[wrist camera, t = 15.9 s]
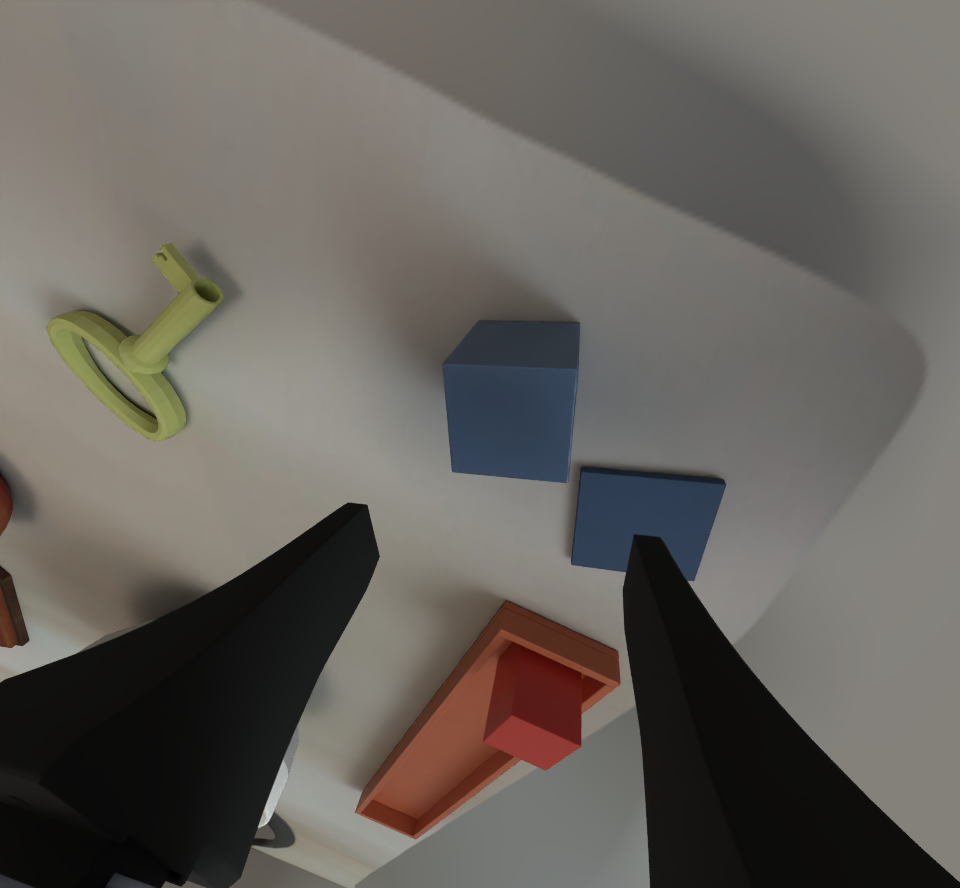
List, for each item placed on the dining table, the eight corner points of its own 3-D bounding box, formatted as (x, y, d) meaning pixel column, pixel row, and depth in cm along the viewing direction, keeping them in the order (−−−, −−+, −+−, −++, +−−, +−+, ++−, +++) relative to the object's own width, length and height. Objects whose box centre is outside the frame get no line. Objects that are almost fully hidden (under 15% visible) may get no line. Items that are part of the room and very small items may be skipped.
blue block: (580, 321, 16) (578, 368, 11) (572, 415, 18) (567, 484, 14) (478, 320, 16) (441, 363, 12) (481, 409, 18) (451, 472, 14)
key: (250, 283, 18) (213, 293, 16) (179, 446, 24) (146, 466, 22) (96, 153, 16) (36, 148, 14) (63, 362, 23) (19, 377, 21)
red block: (523, 628, 25) (511, 715, 21) (582, 655, 25) (581, 747, 21) (497, 658, 27) (482, 742, 23) (552, 683, 27) (545, 771, 23)
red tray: (506, 600, 25) (500, 629, 23) (618, 651, 25) (621, 684, 23) (362, 791, 48) (354, 812, 46) (422, 817, 48) (416, 839, 46)
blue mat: (724, 479, 18) (726, 484, 17) (692, 575, 21) (694, 581, 20) (581, 466, 19) (581, 471, 19) (571, 559, 22) (571, 565, 22)
